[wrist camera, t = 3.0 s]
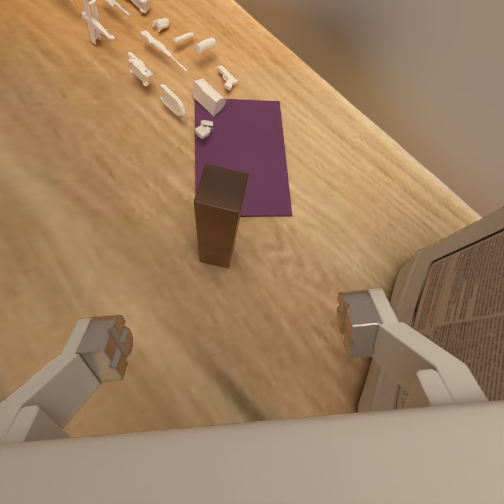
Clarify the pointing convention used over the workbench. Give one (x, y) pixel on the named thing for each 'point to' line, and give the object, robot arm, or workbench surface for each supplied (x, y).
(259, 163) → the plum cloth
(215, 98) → the miniature set
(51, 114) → the workbench surface
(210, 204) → the walnut stick
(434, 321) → the jerry can
